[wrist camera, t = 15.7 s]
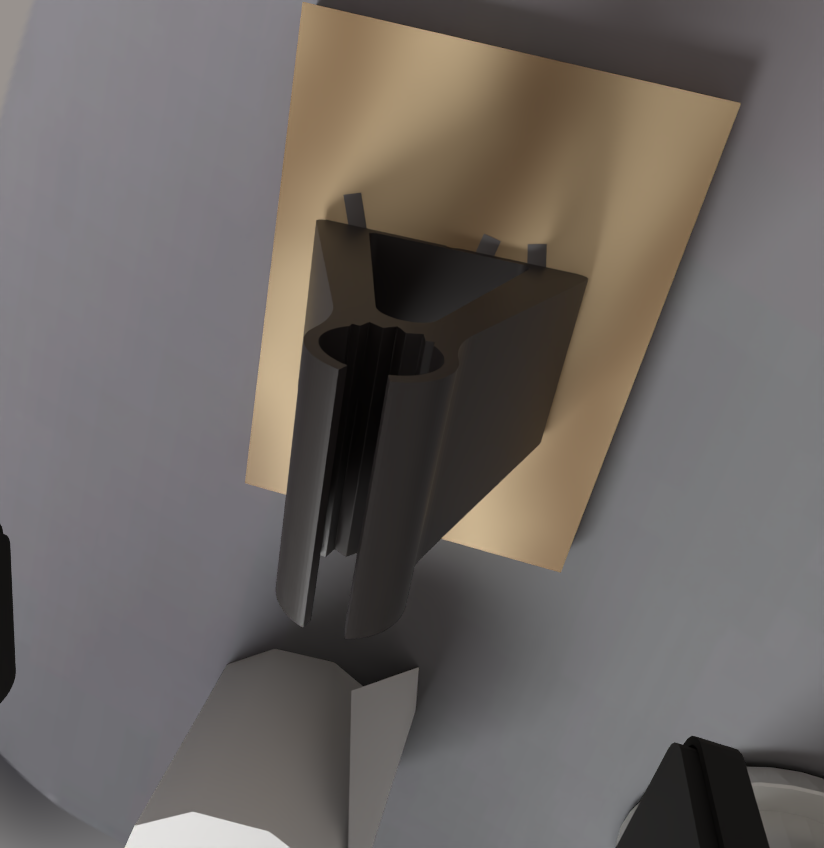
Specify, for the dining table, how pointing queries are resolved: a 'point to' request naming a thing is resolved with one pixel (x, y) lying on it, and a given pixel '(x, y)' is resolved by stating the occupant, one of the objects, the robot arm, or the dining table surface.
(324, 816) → the toilet tissue
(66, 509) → the dining table surface
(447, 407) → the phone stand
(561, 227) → the marked board
